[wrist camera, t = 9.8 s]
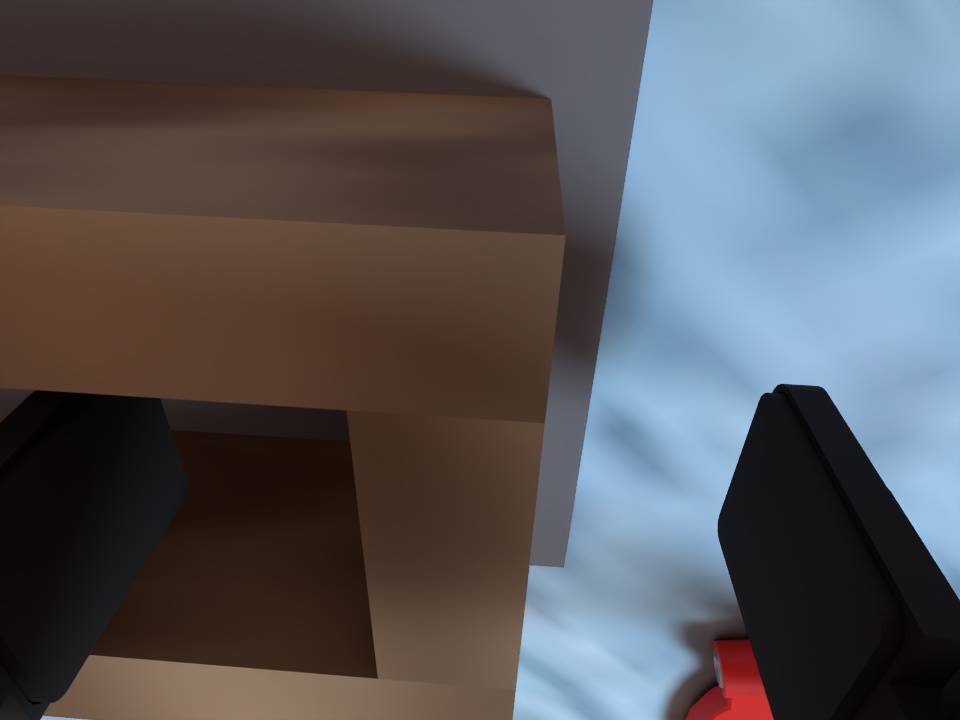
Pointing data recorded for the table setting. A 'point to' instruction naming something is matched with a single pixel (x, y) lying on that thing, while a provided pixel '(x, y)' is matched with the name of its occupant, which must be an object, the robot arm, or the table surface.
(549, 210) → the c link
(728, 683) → the tow hook
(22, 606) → the robot arm
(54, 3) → the mat
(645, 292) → the table surface
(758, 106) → the table surface
